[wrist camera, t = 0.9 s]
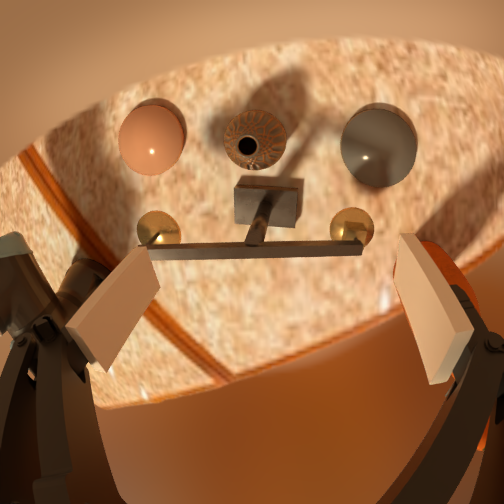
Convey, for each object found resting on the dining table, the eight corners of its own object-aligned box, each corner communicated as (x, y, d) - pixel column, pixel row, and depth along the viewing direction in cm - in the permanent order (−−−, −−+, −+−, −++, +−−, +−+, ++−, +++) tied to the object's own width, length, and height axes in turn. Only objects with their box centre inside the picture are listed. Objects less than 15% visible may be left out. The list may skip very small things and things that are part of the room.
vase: (231, 110, 31) (210, 112, 24) (287, 110, 30) (284, 110, 23) (233, 162, 35) (214, 180, 27) (287, 163, 34) (283, 181, 26)
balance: (176, 216, 40) (122, 275, 27) (173, 182, 37) (111, 229, 24) (360, 229, 37) (387, 300, 23) (366, 194, 34) (402, 252, 21)
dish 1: (125, 174, 38) (122, 176, 37) (119, 110, 33) (116, 110, 32) (186, 173, 36) (183, 175, 36) (182, 101, 31) (179, 101, 31)
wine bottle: (381, 286, 40) (424, 475, 15) (402, 231, 35) (497, 427, 10) (429, 294, 40) (488, 457, 14) (453, 243, 35) (551, 406, 9)
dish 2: (337, 180, 34) (338, 182, 33) (342, 103, 29) (343, 103, 28) (407, 189, 32) (410, 192, 32) (416, 117, 27) (420, 117, 27)
